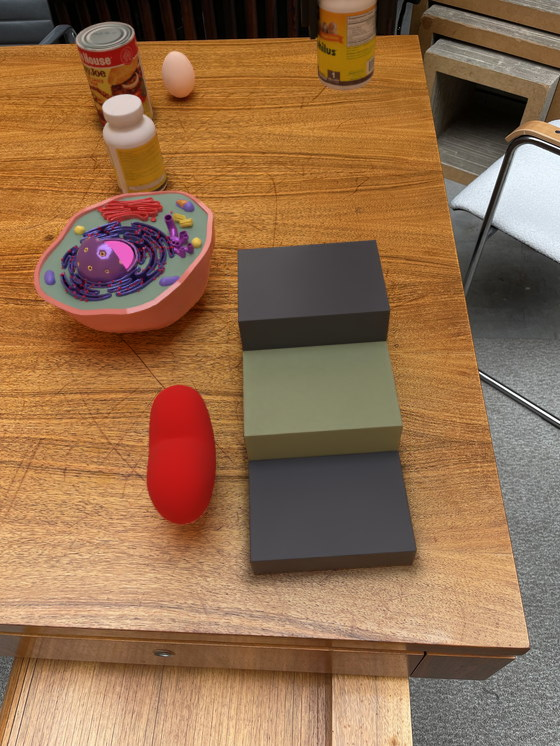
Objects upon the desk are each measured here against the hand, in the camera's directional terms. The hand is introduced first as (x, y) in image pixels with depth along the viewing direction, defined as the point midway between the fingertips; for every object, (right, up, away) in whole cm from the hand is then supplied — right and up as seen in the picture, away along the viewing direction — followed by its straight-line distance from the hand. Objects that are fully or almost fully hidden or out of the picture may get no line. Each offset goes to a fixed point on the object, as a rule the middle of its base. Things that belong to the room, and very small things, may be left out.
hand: (346, 28), depth 60 cm
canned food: (-29, +6, +35) cm, 46 cm away
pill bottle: (-24, -8, +25) cm, 36 cm away
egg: (-21, +10, +38) cm, 45 cm away
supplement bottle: (0, -3, +4) cm, 5 cm away
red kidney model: (-14, -43, -2) cm, 45 cm away
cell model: (-21, -24, +12) cm, 35 cm away
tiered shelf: (-2, -38, 0) cm, 38 cm away
